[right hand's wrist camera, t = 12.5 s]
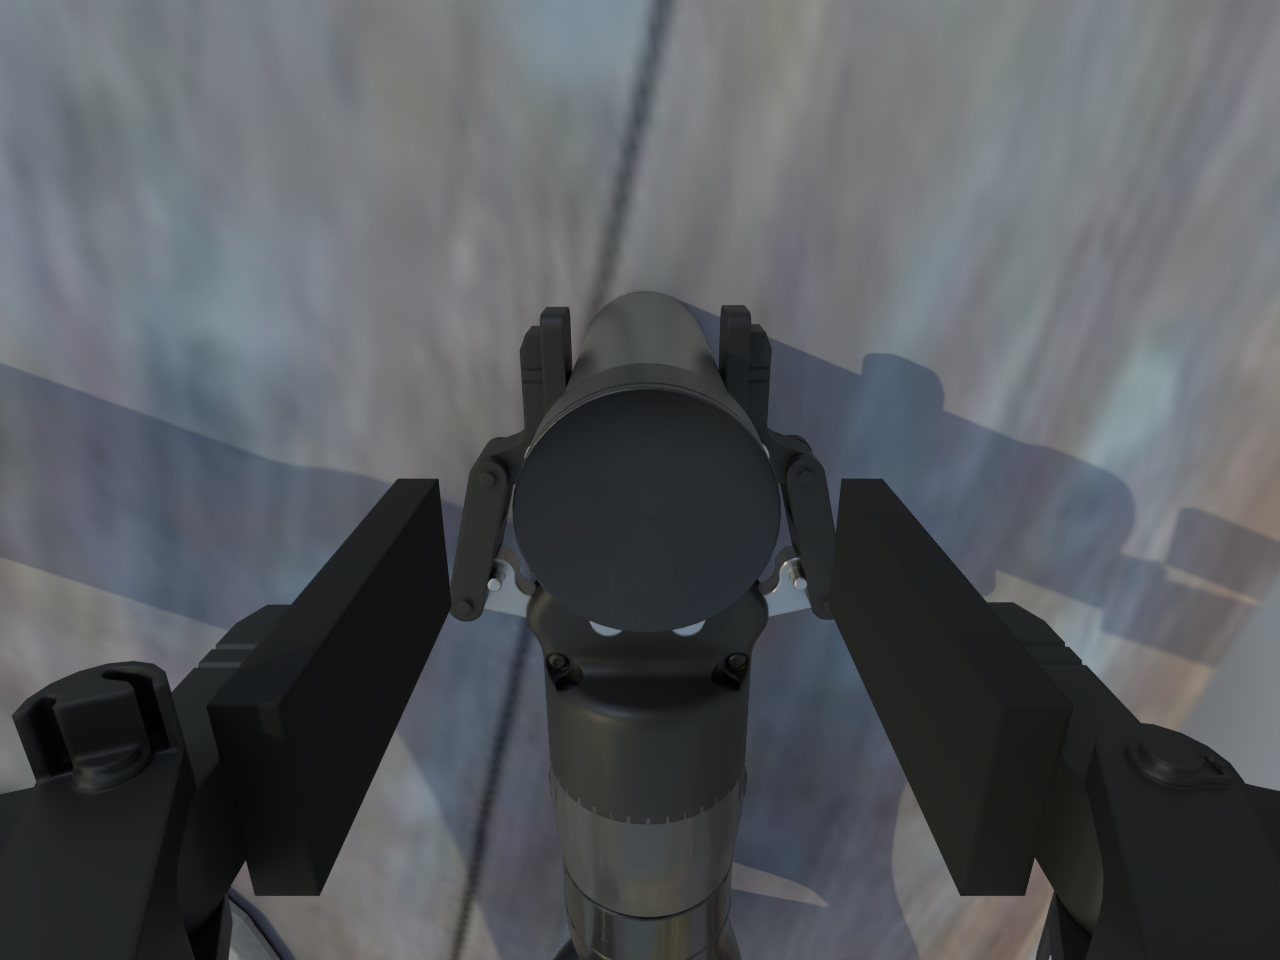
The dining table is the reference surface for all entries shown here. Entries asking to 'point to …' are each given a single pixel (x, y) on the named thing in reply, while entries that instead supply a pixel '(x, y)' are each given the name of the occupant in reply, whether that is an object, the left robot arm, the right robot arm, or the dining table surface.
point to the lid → (646, 499)
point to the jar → (645, 338)
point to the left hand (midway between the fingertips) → (646, 312)
